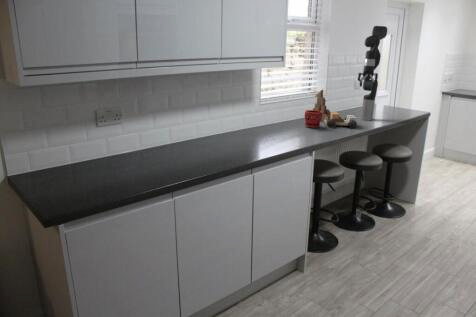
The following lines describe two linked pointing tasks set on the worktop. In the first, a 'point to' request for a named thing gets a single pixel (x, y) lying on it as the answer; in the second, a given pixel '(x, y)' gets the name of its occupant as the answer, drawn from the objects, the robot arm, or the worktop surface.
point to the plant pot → (313, 118)
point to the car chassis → (341, 121)
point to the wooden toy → (321, 105)
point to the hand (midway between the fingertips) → (366, 86)
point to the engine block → (334, 115)
